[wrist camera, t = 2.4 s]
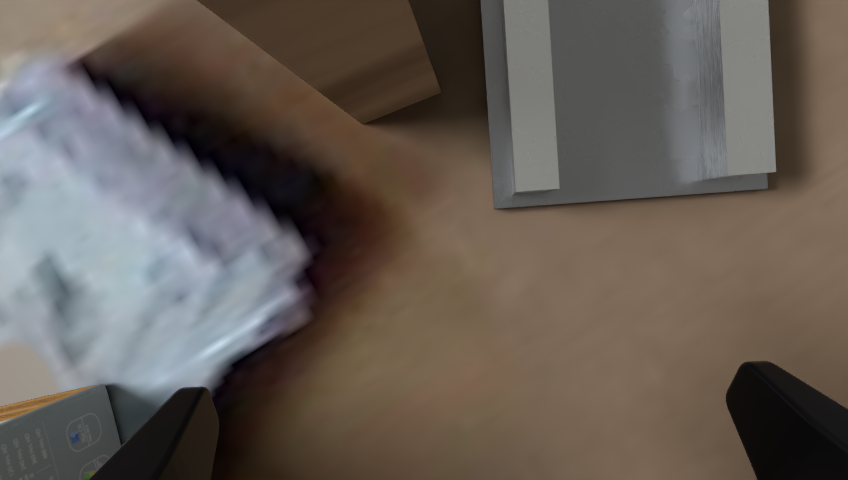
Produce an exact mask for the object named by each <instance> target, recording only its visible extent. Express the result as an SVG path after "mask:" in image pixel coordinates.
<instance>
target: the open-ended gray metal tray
mask: <svg viewBox="0 0 848 480" xmlns="http://www.w3.org/2000/svg"><path fill="white" fill-rule="evenodd" d="M480 3H481V18H482V33H483V48H484V63H485V78H486V93H487V108H488V123H489V138H490V154H491V169H492V184H493V199H494V209H500V208H514V207H527V206H541V205H555V204H568V203H582V202H595V201H609V200H623V199H636V198H650V197H664V196H677V195H691V194H705V193H718V192H732V191H746V190H759V189H768V181H767V173H772V172H776V159H775V137H774V115H773V94H772V72H771V50H770V28H769V7H768V0H480Z"/></svg>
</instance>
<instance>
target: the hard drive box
mask: <svg viewBox="0 0 848 480" xmlns="http://www.w3.org/2000/svg"><path fill="white" fill-rule="evenodd" d="M120 447H121V443H120V439H119V435H118V431H117V427H116V423H115V419H114V415H113V412H112V408H111V404H110V400H109V397H108V393H107V390H106V388H105V386H103V385H94V386H89V387H84V388H80V389H75V390H71V391H66V392H62V393H58V394H54V395H48V396H44V397H40V398H35V399H31V400H27V401H22V402H18V403H14V404H10V405H5V406H1V407H0V480H88V479H89V478H90V477H91V476H92V475H93V474H94V473H95V472H96V471H97V470H98V469H99V468H100V467H101V466H102V465H103V464H104V463H105V462H106V461H107V460H108V459H109V458H110V457H111V456H112V455H113V454H114V453H115V452H116V451H117V450H118V449H119V448H120Z"/></svg>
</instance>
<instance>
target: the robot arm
mask: <svg viewBox="0 0 848 480" xmlns="http://www.w3.org/2000/svg"><path fill="white" fill-rule="evenodd" d="M726 403H727V407H728V410H729V412H730V415H731V417H732V420H733V422H734V424H735V427H736V429H737V432H738V434H739V436H740V439H741V441H742V444H743V446H744V448H745V451H746V453H747V456H748V458H749V461H750V463H751V465H752V468H753V470H754V473H755V475H756V477H757V480H848V409H847V408H845V407H843V406H842V405H840V404H838V403H837V402H835V401H834V400H832V399H830V398H829V397H827V396H825V395H824V394H822V393H821V392H819V391H817V390H816V389H814V388H812V387H811V386H809V385H808V384H806V383H804V382H803V381H801V380H799V379H798V378H796V377H795V376H793V375H791V374H790V373H788V372H786V371H785V370H783V369H782V368H780V367H778V366H777V365H775V364H773V363H771V362H768V361H752V362H745V363H743V364H742V365H741V366H740V367H739V369H738V371H737V373H736V375H735V377H734V379H733V381H732V383H731V384H730V386H729V388H728V390H727V393H726ZM218 433H219V419H218V416H217V413H216V410H215V407H214V404H213V401H212V398H211V395H210V392H209V390H208V389H207V388H206V387H185V388H181V389H179V390H177V391H176V392H175V393H174V394H173V395H172V396H171V397H170V398H169V399H168V400H167V401H166V402H165V403H164V404H163V405H162V406H161V407H160V408H159V409H158V410H157V411H156V412H155V413H154V414H153V415H152V416H151V417H150V418H149V419H148V420H147V421H146V422H145V423H144V424H143V425H142V426H141V427H140V428H139V429H138V430H137V431H136V432H135V433H134V434H133V435H132V436H131V437H130V438H129V439H128V440H127V441H126V442H125V443H124V444H123V445H122V446H121V447H120V448H119V449H118V450H117V451H116V452H115V453H114V454H113V455H112V456H111V457H110V458H109V459H108V460H107V461H106V462H105V463H104V464H103V465H102V466H101V467H100V468H99V469H98V470H97V471H96V472H95V473H94V474H93V475H92V476H91V477H90V478H89V479H88V480H210V479H211V473H212V468H213V462H214V456H215V451H216V445H217V439H218Z"/></svg>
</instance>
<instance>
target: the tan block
mask: <svg viewBox="0 0 848 480" xmlns="http://www.w3.org/2000/svg"><path fill="white" fill-rule="evenodd" d="M197 1H199V2H200V3H201V4H203V5H204V6H205V7H207V8H208V9H209V10H211V11H212V12H213V13H215V14H216V15H217V16H219V17H220V18H221V19H223V20H224V21H225V22H227V23H228V24H229V25H231V26H232V27H233V28H235V29H236V30H237V31H239V32H240V33H241V34H243V35H244V36H245V37H247V38H248V39H249V40H251V41H252V42H253V43H255V44H256V45H257V46H259V47H260V48H261V49H263V50H264V51H265V52H267V53H268V54H269V55H271V56H272V57H273V58H275V59H276V60H277V61H279V62H280V63H281V64H283V65H284V66H285V67H287V68H288V69H289V70H291V71H292V72H293V73H295V74H296V75H297V76H299V77H300V78H301V79H303V80H304V81H305V82H307V83H308V84H309V85H311V86H312V87H313V88H315V89H316V90H317V91H319V92H320V93H321V94H323V95H324V96H325V97H327V98H328V99H329V100H331V101H332V102H333V103H335V104H336V105H337V106H339V107H340V108H341V109H343V110H344V111H345V112H347V113H348V114H349V115H351V116H352V117H353V118H355V119H356V120H357V121H359V122H360V123H361V124H365V123H367V122H370V121H372V120H375V119H377V118H380V117H382V116H384V115H387V114H389V113H392V112H394V111H397V110H399V109H402V108H404V107H407V106H409V105H412V104H414V103H417V102H419V101H422V100H424V99H427V98H429V97H432V96H434V95H437V94H439V93H441V90H440V87H439V84H438V82H437V79H436V76H435V73H434V70H433V68H432V65H431V62H430V59H429V56H428V54H427V51H426V48H425V45H424V42H423V40H422V37H421V34H420V31H419V28H418V26H417V23H416V20H415V17H414V14H413V12H412V9H411V6H410V3H409V0H197Z"/></svg>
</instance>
